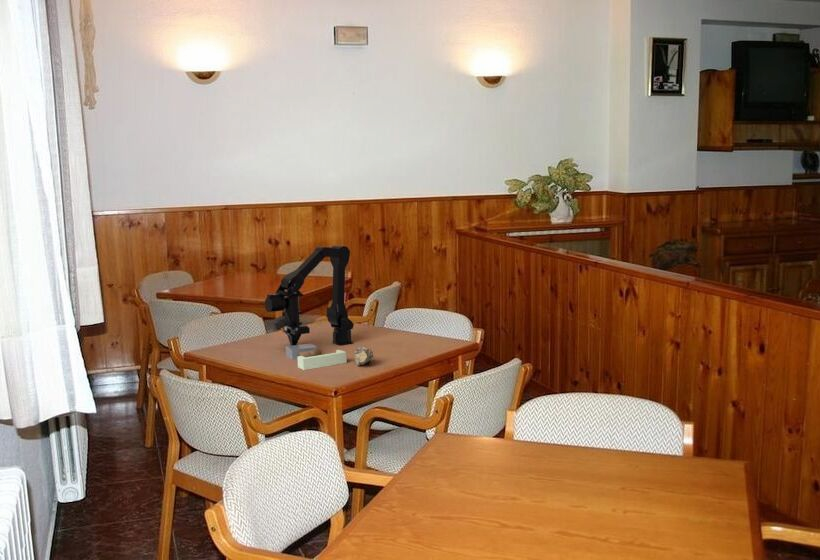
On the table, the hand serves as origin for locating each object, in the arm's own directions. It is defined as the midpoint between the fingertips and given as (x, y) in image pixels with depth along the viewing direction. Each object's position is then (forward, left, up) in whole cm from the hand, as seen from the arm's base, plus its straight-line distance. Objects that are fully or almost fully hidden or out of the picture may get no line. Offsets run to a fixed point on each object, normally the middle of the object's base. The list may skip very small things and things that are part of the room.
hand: (293, 348), depth 323 cm
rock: (-12, +32, -2) cm, 34 cm away
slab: (0, +7, -2) cm, 8 cm away
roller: (0, +14, +2) cm, 14 cm away
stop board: (0, +25, -1) cm, 25 cm away
